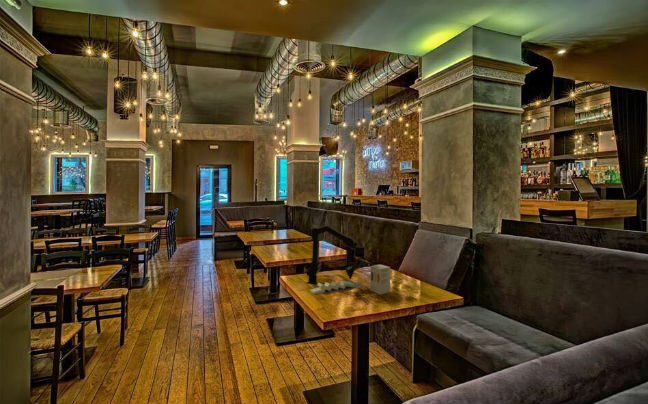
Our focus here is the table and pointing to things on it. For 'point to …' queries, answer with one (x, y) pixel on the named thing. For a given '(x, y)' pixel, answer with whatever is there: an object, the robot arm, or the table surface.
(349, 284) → the domino
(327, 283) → the domino
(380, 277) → the supplement box
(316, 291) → the domino
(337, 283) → the domino
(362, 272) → the table surface
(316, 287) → the mat
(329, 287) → the domino
